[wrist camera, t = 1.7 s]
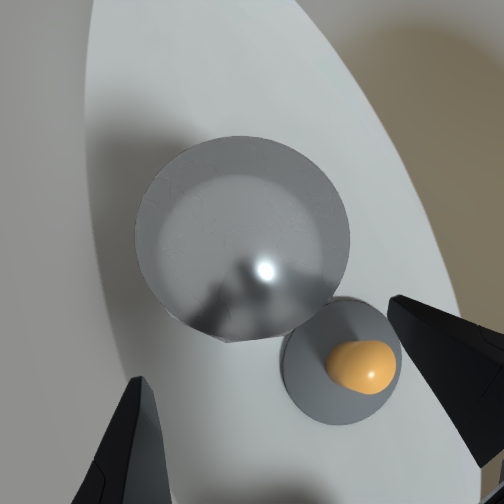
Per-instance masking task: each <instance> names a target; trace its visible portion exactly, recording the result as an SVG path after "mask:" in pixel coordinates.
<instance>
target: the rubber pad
mask: <svg viewBox="0 0 504 504" xmlns="http://www.w3.org/2000/svg"><path fill="white" fill-rule="evenodd" d="M351 341H381V342H383V343H385V344H387V345H388V346H389V347H390V348H391V350H392V351H393V353H394V356H395V359H396V370H395V374H394V377H393V379H392V381H391V382H390V384H389V385H388V386H387V387H386V388H385V389H383V390H382V391H380V392H378V393H375V394H363V393H360V392H357V391H354V390H351V389H348V388H345V387H342V386H339V385H337V384H335V383H334V382H333V381H332V380H331V379H330V378H329V376H328V374H327V370H326V361H327V358H328V355H329V353H330V352H331V350H332V349H333V348H334V347H335V346H337V345H338V344H340V343H343V342H351ZM401 363H402V354H401V346H400V342H399V339H398V336H397V335H396V333H395V331H394V329H393V327H392V326H391V324H390V322H389V320H388V319H387V318H386V317H385V316H384V315H383V314H382V313H381V312H380V311H378V310H377V309H375V308H373V307H372V306H370V305H367V304H364V303H362V302H357V301H338V302H333V303H330V304H327V305H325V306H324V307H323V308H322V309H321V310H319V311H318V312H317V313H316V314H315V315H314V316H313V317H311V318H310V319H309V320H307V321H306V322H304V323H303V324H302V325H300V326H298V327H296V328H295V330H294V331H293V333H292V335H291V337H290V339H289V341H288V343H287V346H286V349H285V353H284V358H283V377H284V382H285V385H286V388H287V391H288V393H289V395H290V397H291V399H292V400H293V402H294V403H295V405H296V406H297V407H298V408H299V409H300V410H301V411H302V412H304V413H305V414H306V415H308V416H309V417H311V418H312V419H314V420H316V421H319V422H321V423H325V424H329V425H347V424H352V423H356V422H358V421H361V420H363V419H365V418H367V417H369V416H370V415H372V414H374V413H375V412H376V411H377V410H378V409H380V408H381V407H382V406H383V405H384V403H385V402H386V401H387V400H388V398H389V397H390V396H391V394H392V392H393V391H394V389H395V387H396V384H397V382H398V379H399V375H400V371H401Z"/></svg>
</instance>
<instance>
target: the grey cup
mask: <svg viewBox="0 0 504 504" xmlns="http://www.w3.org/2000/svg"><path fill="white" fill-rule="evenodd" d="M135 249H136V255H137V259H138V264H139V267H140V271H141V272H142V275H143V277H144V279H145V281H146V283H147V285H148V286H149V288H150V290H151V291H152V293H153V294H154V296H155V297H156V298H157V299H158V301H159V302H160V303H161V304H162V305H163V306H164V308H165V309H166V311H167V312H168V314H169V315H170V317H171V318H173V319H175V320H177V321H179V322H181V323H183V324H185V325H188V326H190V327H192V328H194V329H196V330H198V331H200V332H203V333H205V334H207V335H209V336H211V337H214V338H216V339H218V340H220V341H223V342H225V343H230V342H239V341H248V340H257V339H264V338H272V337H279V336H286V335H287V334H288V333H290V332H291V331H292V330H294V329H295V328H296V327H298V326H300V325H302V324H303V323H304V322H306V321H307V320H309V319H310V318H311V317H313V316H314V315H315V314H316V313H317V312H318V311H319V310H321V309H322V308H323V307H324V306H325V304H326V303H327V302H328V301H329V300H330V298H331V297H332V296H333V294H334V292H335V291H336V289H337V287H338V286H339V284H340V282H341V279H342V277H343V275H344V272H345V269H346V266H347V262H348V258H349V249H350V230H349V223H348V218H347V214H346V211H345V208H344V205H343V203H342V200H341V198H340V196H339V194H338V192H337V190H336V189H335V187H334V185H333V184H332V182H331V181H330V180H329V179H328V177H327V176H326V175H325V174H324V172H323V171H322V170H321V169H320V168H319V167H318V166H317V165H316V164H314V163H313V162H312V161H311V160H309V159H308V158H307V157H305V156H304V155H302V154H301V153H299V152H297V151H296V150H294V149H292V148H290V147H288V146H286V145H283V144H281V143H278V142H275V141H272V140H268V139H263V138H258V137H249V136H232V137H223V138H218V139H213V140H209V141H206V142H203V143H201V144H198V145H196V146H194V147H192V148H190V149H188V150H186V151H184V152H182V153H181V154H179V155H178V156H176V157H175V158H174V159H172V160H171V161H170V162H169V163H168V164H167V165H165V166H164V167H163V169H162V170H161V171H160V172H159V173H158V174H157V175H156V176H155V178H154V179H153V181H152V182H151V184H150V185H149V187H148V188H147V190H146V192H145V194H144V196H143V198H142V201H141V204H140V207H139V209H138V214H137V218H136V223H135Z"/></svg>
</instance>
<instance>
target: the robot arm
mask: <svg viewBox="0 0 504 504" xmlns="http://www.w3.org/2000/svg"><path fill="white" fill-rule="evenodd" d="M387 318H388V320H389V322H390V324H391V326H392V327H393V329H394V331H395V333H396V335H397V336H398V338H399V340H400V342H401V344H402V346H403V347H404V349H405V351H406V352H407V354H408V355H409V357H410V358H411V360H412V361H413V363H414V364H415V365H416V367H417V368H418V370H419V371H420V373H421V374H422V376H423V377H424V379H425V380H426V382H427V383H428V385H429V386H430V388H431V389H432V391H433V392H434V394H435V395H436V397H437V399H438V400H439V402H440V403H441V405H442V406H443V408H444V409H445V411H446V413H447V414H448V416H449V417H450V419H451V421H452V422H453V424H454V425H455V427H456V429H458V432H459V434H460V435H461V437H462V439H463V440H464V442H465V444H466V445H467V447H468V449H469V451H470V452H471V454H472V456H473V457H474V459H475V461H476V463H477V464H478V466H479V467H480V468H482V467H483V466H484V465H486V464H487V463H488V462H489V461H490V460H492V459H493V458H494V457H495V456H496V455H497V454H499V453H500V452H501V451H502V450H503V449H504V334H501V333H498V332H495V331H493V330H490V329H487V328H485V327H482V326H480V325H478V326H477V324H475V323H472V322H469V321H467V320H464V319H462V318H459V317H457V316H454V315H452V314H449V313H447V312H444V311H442V310H439V309H436V308H434V307H431V306H429V305H426V304H424V303H421V302H419V301H416V300H413V299H411V298H408V297H406V296H403V295H396V296H394V297H391V298H390V300H389V305H388V311H387ZM71 504H172V501H171V495H170V489H169V482H168V476H167V469H166V461H165V453H164V445H163V437H162V431H161V426H160V422H159V418H158V413H157V408H156V404H155V399H154V394H153V391H152V389H151V388H150V386H149V385H148V383H147V382H146V380H145V378H144V377H143V376H138V377H133V378H131V379H130V381H129V383H128V385H127V387H126V389H125V391H124V393H123V395H122V397H121V400H120V402H119V404H118V406H117V408H116V410H115V412H114V414H113V417H112V419H111V421H110V423H109V425H108V427H107V430H106V432H105V434H104V436H103V438H102V441H101V443H100V445H99V447H98V450H97V452H96V454H95V456H94V460H93V461H92V463H91V465H90V468H89V470H88V472H87V474H86V476H85V479H84V481H83V483H82V484H81V486H80V488H79V490H78V492H77V494H76V496H75V497H74V499H73V501H72V503H71ZM478 504H504V459H503V461H502V468H501V475H500V481H499V486H498V487H497V488H495V489H494V490H493V491H492V492H491V493H490V494H489V495H488V496H487V497H485V498H484V499H483V500H482V501H481V502H479V503H478Z"/></svg>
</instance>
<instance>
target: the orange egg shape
mask: <svg viewBox="0 0 504 504" xmlns="http://www.w3.org/2000/svg"><path fill="white" fill-rule="evenodd" d="M326 370H327V374H328V376H329V378H330V379H331V380H332V381H333V382H334V383H335V384H337V385H339V386H342V387H345V388H348V389H351V390H354V391H357V392H360V393H363V394H375V393H378V392H380V391H382V390H383V389H385V388H386V387H387V386H388V385H389V384H390V382H391V381H392V379H393V377H394V374H395V370H396V359H395V356H394V353H393V351H392V350H391V348H390V347H389V346H388V345H387V344H385V343H383V342H381V341H351V342H343V343H340V344H338V345H337V346H335V347H334V348H333V349H332V350H331V352H330V353H329V355H328V358H327V361H326Z"/></svg>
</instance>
